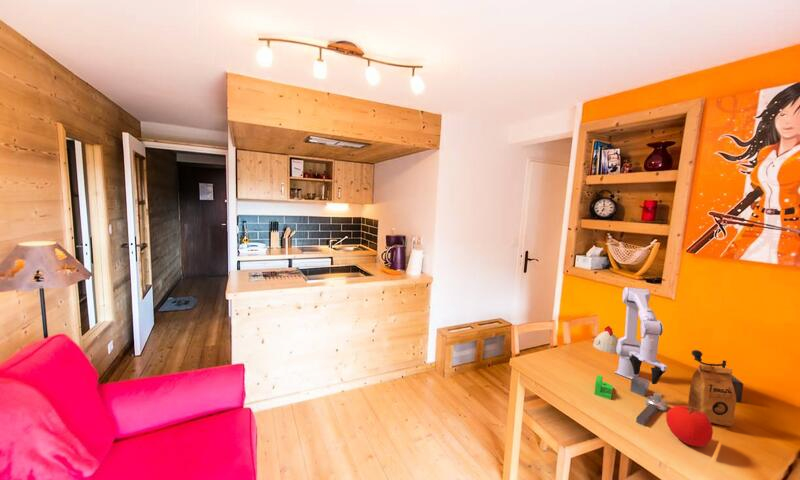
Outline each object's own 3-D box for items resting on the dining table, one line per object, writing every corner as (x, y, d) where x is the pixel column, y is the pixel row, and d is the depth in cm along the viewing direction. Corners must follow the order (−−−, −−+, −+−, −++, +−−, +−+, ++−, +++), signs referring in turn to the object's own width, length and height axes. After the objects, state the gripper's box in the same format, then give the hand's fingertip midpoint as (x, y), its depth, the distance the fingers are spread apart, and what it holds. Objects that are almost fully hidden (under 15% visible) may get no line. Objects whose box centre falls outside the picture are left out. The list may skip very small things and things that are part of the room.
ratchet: (648, 399, 140) (650, 387, 140) (668, 407, 135) (670, 395, 134) (629, 419, 126) (630, 405, 125) (651, 429, 120) (653, 415, 120)
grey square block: (634, 387, 150) (635, 375, 149) (647, 393, 146) (649, 380, 145) (630, 391, 146) (631, 378, 146) (644, 396, 142) (645, 383, 142)
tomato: (714, 445, 113) (719, 411, 112) (705, 458, 106) (710, 423, 105) (670, 425, 123) (674, 394, 122) (659, 436, 116) (663, 403, 115)
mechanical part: (610, 400, 139) (612, 382, 138) (594, 394, 143) (596, 377, 142) (612, 388, 148) (614, 372, 148) (597, 384, 152) (599, 367, 151)
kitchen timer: (598, 354, 185) (601, 329, 183) (588, 344, 198) (591, 321, 197) (625, 357, 183) (628, 332, 181) (613, 347, 196) (616, 323, 195)
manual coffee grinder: (726, 391, 150) (732, 354, 149) (741, 404, 140) (747, 364, 138) (685, 383, 156) (690, 347, 154) (697, 395, 145) (702, 357, 144)
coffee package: (737, 431, 122) (746, 375, 120) (697, 423, 125) (704, 369, 123) (720, 415, 131) (728, 363, 129) (683, 408, 135) (690, 358, 133)
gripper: (625, 342, 142) (622, 371, 143) (659, 356, 128) (655, 389, 130) (637, 340, 144) (634, 369, 145) (672, 355, 130) (668, 387, 131)
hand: (645, 378), depth 138 cm, fingers open, 7 cm apart
